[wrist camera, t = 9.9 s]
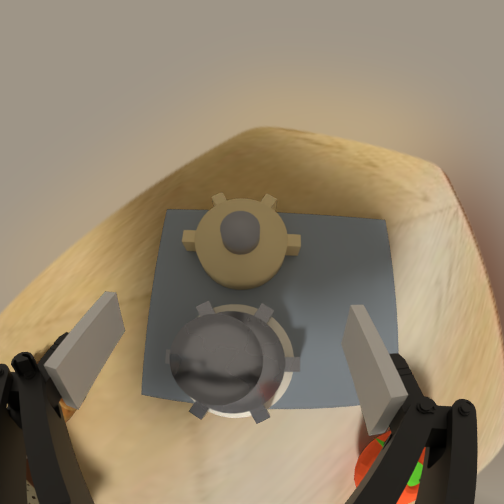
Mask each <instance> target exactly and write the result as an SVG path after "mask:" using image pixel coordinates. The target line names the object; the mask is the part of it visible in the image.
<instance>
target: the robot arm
mask: <svg viewBox="0 0 504 504" xmlns="http://www.w3.org/2000/svg"><path fill="white" fill-rule="evenodd" d="M124 332H125V328H124V324H123V320H122V316H121V312H120V307H119V303H118V299H117V294H116V292H107V291H105V292H104V293H103V295H102V296H101V297H100V298H99V299H98V300H97V301H96V302H95V304H94V305H93V306H92V307H91V308H90V309H89V310H88V312H87V313H86V314H85V315H84V316H83V317H82V318H81V320H80V321H79V322H78V323H77V324H76V326H75V327H74V328H73V329H72V330H71V332H70V333H68V332H66V333H64V334H63V335H61V336H60V337H59V338H58V339H57V340H56V341H55V342H54V345H52V346H51V347H50V349H49V350H48V351H47V352H46V353H45V355H44V356H43V357H42V358H41V360H40V361H39V362H38V363H36V361H35V359H34V357H33V355H32V354H31V353H29V352H22V353H19V354H17V355H16V356H15V357H14V358H13V359H12V362H11V365H12V367H13V368H14V370H15V372H10V370H9V368H8V366H7V365H5V364H0V504H28V503H27V484H26V458H27V459H28V464H29V468H30V473H31V477H32V481H33V484H34V488H35V492H36V495H37V498H38V502H39V504H94V502H93V500H92V498H91V495H90V493H89V491H88V488H87V486H86V483H85V481H84V479H83V476H82V473H81V471H80V468H79V465H78V462H77V460H76V457H75V454H74V451H73V448H72V444H71V441H70V438H69V434H68V431H67V427H66V424H65V420H64V416H63V412H62V407H61V405H60V403H59V401H60V400H61V398H62V399H63V400H64V402H65V404H66V405H67V406H70V407H72V408H75V409H78V410H79V408H80V406H81V404H82V402H83V401H84V399H85V397H86V395H87V393H88V392H89V390H90V388H91V386H92V385H93V383H94V381H95V379H96V378H97V376H98V374H99V373H100V371H101V369H102V368H103V366H104V364H105V363H106V361H107V359H108V358H109V356H110V354H111V353H112V351H113V349H114V348H115V346H116V345H117V343H118V341H119V340H120V338H121V337H122V335H123V333H124ZM341 345H342V348H343V351H344V354H345V357H346V360H347V364H348V367H349V370H350V373H351V376H352V379H353V383H354V386H355V389H356V393H357V396H358V399H359V403H360V406H361V409H362V413H363V416H364V420H365V424H366V427H367V431H368V435H369V436H371V435H377V434H383V433H385V431H386V430H387V428H388V427H390V430H391V434H390V435H389V437H388V438H387V440H386V441H385V442H384V444H383V445H384V446H383V448H382V449H381V451H380V453H379V454H378V456H377V458H376V459H375V461H374V463H373V464H372V466H371V467H370V469H369V470H368V472H367V473H366V475H365V476H364V478H363V479H362V481H361V482H360V484H359V485H358V487H357V488H356V489H355V491H354V492H353V494H352V495H351V496H350V498H349V499H348V500H347V502H346V503H345V504H396V503H397V502H398V500H399V498H400V496H401V494H402V493H403V491H404V489H405V487H406V485H407V483H408V481H409V479H410V477H411V475H412V473H413V471H414V469H415V467H416V465H417V463H418V461H419V458H420V456H421V454H422V451H423V449H424V447H426V449H425V456H424V462H423V468H422V474H421V479H420V484H419V488H418V493H417V497H416V501H415V504H474V499H475V490H476V478H477V418H476V409H475V406H474V405H473V404H472V403H471V402H470V401H468V400H465V399H459V400H457V401H455V403H454V404H453V405H452V407H451V406H438V405H436V403H435V402H434V401H433V400H432V399H430V398H428V397H424V396H423V394H422V392H421V390H420V388H419V386H418V384H417V382H416V380H415V378H414V376H413V375H412V372H411V370H410V369H409V366H408V364H407V363H406V361H405V359H404V358H403V357H402V356H400V355H399V354H398V353H393V354H389V353H388V351H387V349H386V347H385V345H384V343H383V341H382V339H381V337H380V335H379V333H378V331H377V329H376V327H375V325H374V324H373V322H372V320H371V318H370V316H369V314H368V312H367V310H366V308H365V307H364V305H351V306H350V310H349V314H348V319H347V323H346V327H345V331H344V334H343V338H342V342H341ZM7 404H8V407H7Z"/></svg>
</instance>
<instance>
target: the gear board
mask: <svg viewBox="0 0 504 504" xmlns="http://www.w3.org/2000/svg"><path fill="white" fill-rule="evenodd" d="M211 197H212V202H213V206H214V207H213V208H211V209H210V210H181V209H167V212H166V217H165V221H164V226H163V231H162V236H161V241H160V247H159V252H158V258H157V263H156V269H155V275H154V281H153V288H152V295H151V302H150V309H149V317H148V325H147V334H146V343H145V353H144V364H143V377H142V393H141V395H146V396H151V397H156V398H162V399H168V400H174V401H181V402H188V403H195V402H196V400H194V399H193V398H191V397H189V396H188V395H187V394H186V393H184V392H183V390H182V389H181V388H180V387H179V386H178V384H177V383H176V381H175V379H174V377H173V375H172V372H171V368H170V364H166V363H165V358H166V349H168V350H170V349H171V346H172V343H173V340H174V338H175V336H176V335H177V333H178V332H179V331H180V329H181V328H182V327H183V326H184V325H186V324H187V323H188V322H190V321H191V320H193V319H195V318H197V317H200V315H199V313H198V311H197V308H196V306H198V305H200V304H202V303H205V302H207V301H209V302H210V303H211V305H212V306H213V308H214V310H215V313H219V312H225V311H238V312H244V313H248V314H251V315H253V316H254V314H255V313H256V311H257V310H258V308H259V307H260V305H261V304H262V303H263V304H264V305H266V306H267V307H269V308H271V309H272V310H274V313H273V316H272V317H271V319H270V320H269V322H268V325H269V326H270V327H271V328H272V329H273V331H274V332H275V333H276V335H277V336H278V338H279V340H280V342H281V344H282V347H283V350H284V354H285V357H300V372H284V376H283V379H282V382H281V384H280V386H279V388H278V390H277V391H276V392H275V394H274V395H273V396H272V397H271V398H270V399H269V400H268V401H267V402H266V403H264V405H265V407H266V409H313V408H333V407H346V406H357V405H360V403H359V399H358V396H357V393H356V389H355V386H354V383H353V379H352V376H351V373H350V370H349V367H348V364H347V360H346V357H345V354H344V351H343V348H342V345H341V342H342V338H343V334H344V331H345V327H346V323H347V319H348V314H349V310H350V306H351V305H364V307H365V308H366V310H367V312H368V314H369V316H370V318H371V320H372V322H373V324H374V325H375V327H376V329H377V331H378V333H379V335H380V337H381V339H382V341H383V343H384V345H385V347H386V349H387V351H388V353H389V354H393V353H398V325H397V309H396V297H395V286H394V276H393V268H392V260H391V253H390V246H389V240H388V233H387V227H386V222H385V220H379V219H368V218H356V217H343V216H329V215H313V214H296V213H277V212H276V204H277V198H275V197H273V196H271V195H269V194H267V193H266V195H265V196H264V197H263V199H262V200H261V201H257V200H253V199H246V198H237V199H231V200H227V199H226V197H225V195H224V194H223V192H221V193H218V194H216V195H214V196H211ZM208 412H211V413H213V414H216V415H219V416H223V417H229V418H242V417H249V416H252V415H251V413H250V411H248V412H244V413H236V414H230V413H222V412H218V411H215V410H212V409H210V410H209V411H208Z"/></svg>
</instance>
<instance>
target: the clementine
mask: <svg viewBox="0 0 504 504" xmlns="http://www.w3.org/2000/svg"><path fill="white" fill-rule="evenodd" d="M390 434H391V430H390V431H388V432H386V433H384V434H382V435H380V436H378V437H377V438H375V437H374V438H375V439H374V440H373V441H372V442H370V443H369V444H368V446H367V447H366V448H365V449H364V450H363V452H362V453H361V455H360V456H359V458H358V461H357V464H356V467H355V475H354V480H355V485H356V488H357V487H358V485H359V484H360V482H361V481H362V479H363V478H364V476H365V475H366V473H367V472H368V470H369V469H370V467H371V466H372V464H373V463H374V461H375V459H376V458H377V456H378V454H379V453H380V451H381V449H382V448H383V446H384V445H383V444H384V442H385V441H386V440H387V438H388V437H389V435H390ZM425 449H426V447H424V449H423V451H422V454H421V456H420V458H419V461H418V463H417V465H416V467H415V469H414V471H413V473H412V475H411V477H410V479H409V481H408V483H407V485H406V487H405V489H404V491H403V493H402V494H401V496H400V498H399V500H398V502H397V503H396V504H408V503H410V502H413V501H414V500H416V497H417V493H418V488H419V484H420V479H421V474H422V468H423V462H424V456H425Z"/></svg>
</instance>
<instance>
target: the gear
mask: <svg viewBox="0 0 504 504" xmlns="http://www.w3.org/2000/svg"><path fill="white" fill-rule="evenodd" d="M196 308H197V311H198V313H199V315H200V317H197V318H195V319H193V320H191V321H190V322H188V323H187V324H186V325H184V326H183V327H182V328H181V329H180V331H179V332H178V333H177V335H176V336H175V338H174V340H173V343H172V346H171V349H170V350H168V349H166V358H165V363H166V364H170V368H171V372H172V375H173V377H174V379H175V381H176V383H177V384H178V386H179V387H180V388H181V389H182V390H183V392H184V393H186V394H187V395H188V396H189V397H191V398H193V399H194V400H196V402H195V403H194V404H193V406H192V407H191V409H190V410H189V412H190V413H192V414H193V415H195V416H196V417H198V418H199V419H202V418H203V417H204V416H205V415H206V414H207V413H208V411H209V410H210V409H212V410H215V411H218V412H222V413H230V414H236V413H244V412H248V411H250V413H251V415H252V417H253V418H254V420H255V422H256V424H257V423H260V422H262V421H264V420H266V419H268V418H270V414H269V412H268V410H267V409H266V407H265V405H264V403H266V402H267V401H268V400H269V399H270V398H271V397H272V396H273V395H274V394H275V392H276V391H277V390H278V388H279V386H280V384H281V382H282V379H283V376H284V372H300V357H285V354H284V350H283V347H282V344H281V342H280V340H279V338H278V336H277V335H276V333H275V332H274V331H273V329H272V328H271V327H270V326H269V325H268V322H269V320H270V319H271V317H272V316H273V313H274V310H272V309H271V308H269V307H267V306H266V305H264V304H263V303H262V304H261V305H260V307H259V308H258V310H257V311H256V313H255V314H254V316H253V315H251V314H248V313H244V312H238V311H225V312H219V313H215V310H214V308H213V306H212V305H211V303H210V302H209V301H207V302H205V303H202V304H200V305H198V306H196Z"/></svg>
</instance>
